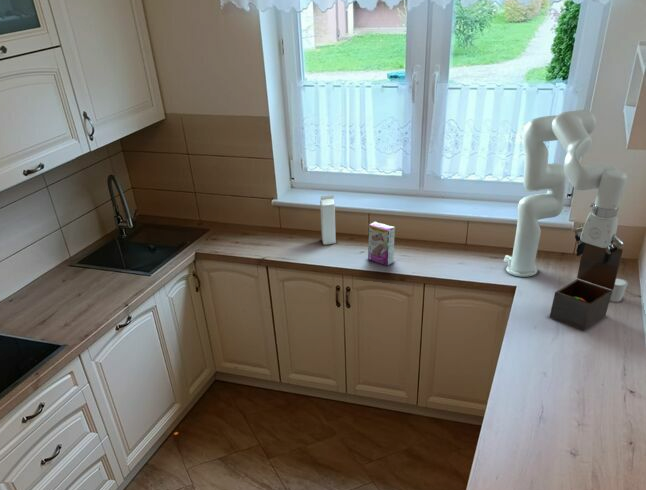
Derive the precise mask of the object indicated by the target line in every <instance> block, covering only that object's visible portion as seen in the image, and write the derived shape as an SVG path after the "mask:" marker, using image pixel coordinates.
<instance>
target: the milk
mask: <svg viewBox="0 0 646 490" xmlns="http://www.w3.org/2000/svg"><path fill="white" fill-rule="evenodd" d="M319 205H320V229H321V241H322V244H323V245H332V244H333V245H334V244H336V243H337V239H336V238H337V237H336V204H335V197H334V195H322V196H320V201H319Z"/></svg>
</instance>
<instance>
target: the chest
mask: <svg viewBox="0 0 646 490" xmlns="http://www.w3.org/2000/svg"><path fill="white" fill-rule="evenodd" d="M611 295H612V290H609V289H607V288H605V287H602V286H599V285H596V284H593V283H590V282H587V281H584V280H581V279H578V278H576V279H575V280H573V281H570V283H568V284H567V285H565V286H563V287H561V288H560V289H558V290H556V291H554V295H553V300H552V304H551V308H550V313H549V318H550V319H552V320H555V321H557V322H560V323H562V324H565V325H568V326H571V327H573V328H576V329H578V330H581V331H583V332H584V331H586V330H588V329H589V328H590V327H593V325H595V324H596V323H598V322H600V321H601V320H602V319H604V318H605V317H606V315H607V313H608V308H609V306H610V305H609V304H610V302H611V301H610V298H611ZM574 297H579V298H582V299H584V300H585V301H586V302H585V301H582V300H580V299H577V298H574Z"/></svg>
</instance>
